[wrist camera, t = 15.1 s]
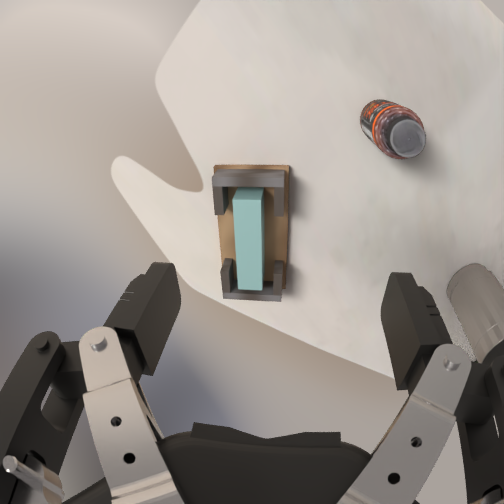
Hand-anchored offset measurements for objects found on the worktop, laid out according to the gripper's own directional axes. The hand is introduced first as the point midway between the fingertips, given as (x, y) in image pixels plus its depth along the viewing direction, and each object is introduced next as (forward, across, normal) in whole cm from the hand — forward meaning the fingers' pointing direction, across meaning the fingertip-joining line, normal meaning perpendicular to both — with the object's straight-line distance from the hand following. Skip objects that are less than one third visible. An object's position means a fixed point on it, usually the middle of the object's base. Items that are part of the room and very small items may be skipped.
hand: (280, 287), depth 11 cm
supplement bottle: (+32, -12, -2) cm, 35 cm away
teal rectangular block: (+31, +5, +15) cm, 35 cm away
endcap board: (+32, +5, +15) cm, 36 cm away
